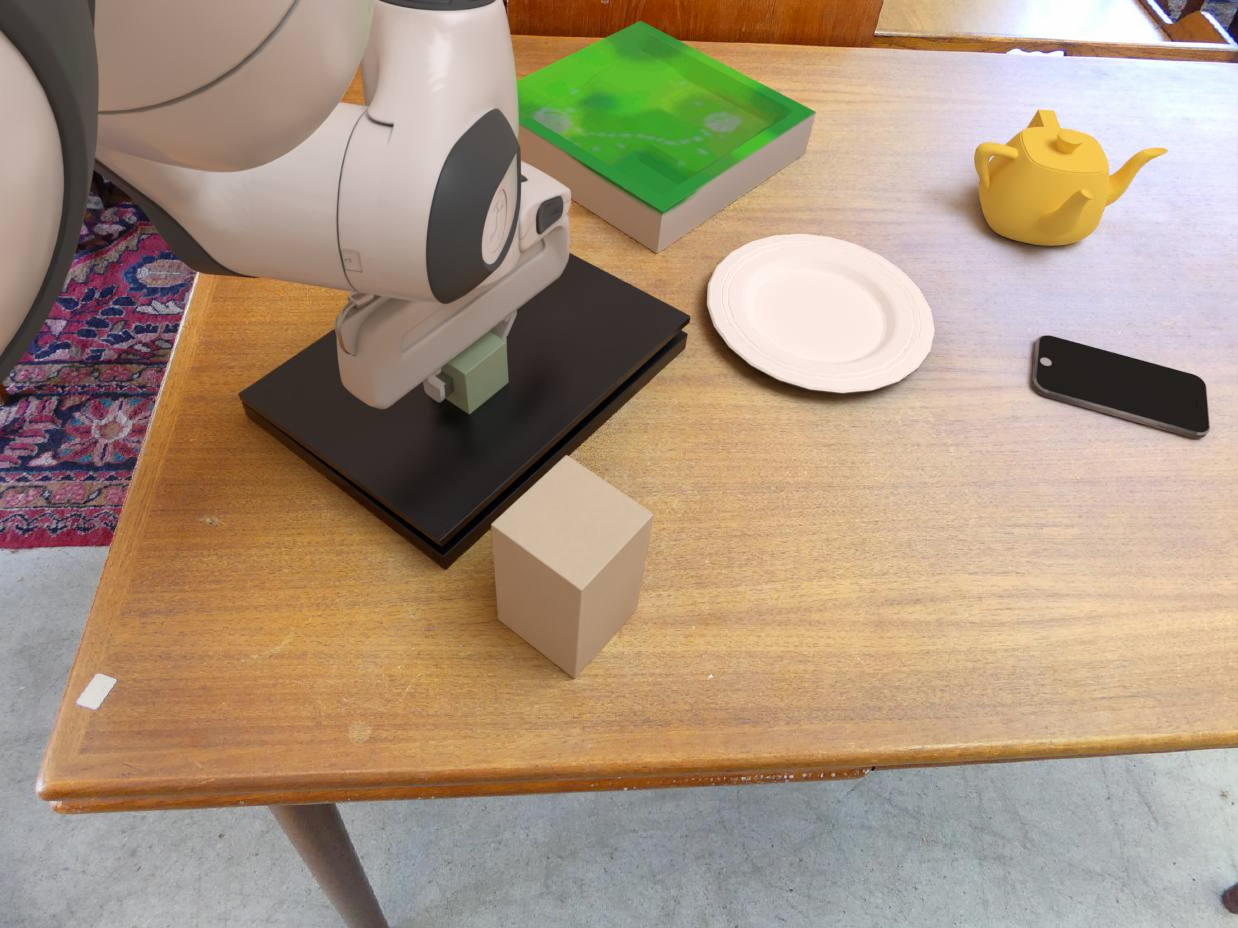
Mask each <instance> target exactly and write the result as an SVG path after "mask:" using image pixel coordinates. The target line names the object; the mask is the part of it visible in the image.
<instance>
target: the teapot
mask: <svg viewBox="0 0 1238 928" xmlns="http://www.w3.org/2000/svg"><path fill="white" fill-rule="evenodd" d="M1168 152H1169V150H1168V149H1167V148H1165V147H1149V148H1145V149H1142V150H1140V151H1138V152H1137V153H1134V154H1133V155H1132V156H1131V157H1130V158H1129V159H1128V160H1127V161H1126V162H1125V163H1124V164H1123V165H1122V166H1121V167H1120V168H1119V169H1118V170H1116V171H1115V172H1114V173H1112V174H1110V165H1109V160H1108V158H1107V156H1106V153H1105V152H1104V150H1103V148H1102V146H1101V144H1100V142H1099V141H1098V140H1097V139H1096V138H1095V137H1094V136H1092V135H1090V134H1088V133H1085V132H1082V131H1079V130H1076V129H1075V130H1074V129H1071V128H1063V127H1061V126H1060V123H1059V120H1058V118H1057V115H1056V112H1055V110H1051V109H1037V111H1036V112H1035V113H1034V115H1033V117H1032V119H1031V120H1030V122H1029V123H1028V125H1027V126H1026V128H1024V129H1022V130H1021V131H1019V132H1018V133H1017V134H1015V135H1014V136H1013V137H1012V138H1011V139H1009V140H1008V141H1007V142H1006V143H1005V144H1002V143H999V142H992V141H987V142H983V143H980V144H978V146H976V148H975V151H974V155H973V163H974V167H975V171H976V174H977V177H978V179H979V180H978V195H979V202H980V207H981V210H982V213H983V217H984V218H985V221H986V223H987V225H988V226H989V228H990V229H991V230H993V231H994V233H996V234H998V235H999V236H1002V237H1003V238H1007V239H1010V240H1013V241H1017V242H1020V243H1024V244H1030V245H1034V246H1035V245H1036V246H1051V247H1052V246H1053V247H1055V246H1067V245H1072V244H1075V243H1077V242H1080V241H1082V240H1084V239H1086V238H1087V237H1089V236H1090V235H1092V234H1093V233H1094V232H1095V231H1096V229H1097V227H1098V226H1099V224H1100V222H1101V220H1102V217H1103V214H1104V212H1105V208H1106V207H1109V206H1110V205H1112V204H1114V203H1115V202H1116V201H1117V200H1119V199H1120V198H1121V197H1122V196H1123V194H1124V193H1125V192H1126V191H1127V190H1128V188H1129V187H1130V185H1131V183H1132V182H1133V180H1134V179H1135V177H1136V175H1137V174H1138V173H1139V171H1141V169H1142V168H1143V167H1144V166H1145V165H1146V164H1147V163H1149V162H1150V161H1152V160H1153V159H1156V158H1158V157H1161V156H1163V155H1165V154H1167V153H1168Z"/></svg>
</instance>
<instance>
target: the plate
mask: <svg viewBox="0 0 1238 928" xmlns="http://www.w3.org/2000/svg"><path fill="white" fill-rule="evenodd" d="M706 291H707V294H706V308H707V312H708V315H709V317H710V321H711V324H712V327H713V328H714V330H715V331H716V333H717V334H718V336H719V337H720V338H721V339H722V341H723V342H724V344H725V345H726V346H727V348H728V350H731V351H732V352H733V353H734V354H735V355H736V356H738V357H739V358H740V359H741V360H742V361H743V362H744V363H746V364H747V365H749V366H750V367H751V368H753V369H755V370H756V371H759V372H761V373H763V374H764V375H766V376H768V377H770V378H772V379H774V380H776V381H777V382H780V383H784V384H787V385H790V386H793V387H797V388H800V389H803V390H806V391H809V392H819V393H828V394H837V395H846V394H859V393H868V392H875V391H877V390H881V389H884V388H886V387H889V386H892V385H895V384H898V383H900V382H901V381H903V380H904V379H906V378H907V377H908V376H910V375H911V374H912V373H914V372H916V371H917V370H918V369H919V368H920V366H921V365H922V363H923V362H924V361H925V359H926V358H927V356H928V355H929V353H930V352H931V351H932V345H933V340H934V336H935V332H936V330H935V329H936V328H935V325H934V318H933V313H932V309H931V307H930V305H929V303H928V302H927V299H926V298H925V296H924V294H923V292H922V290H921V289H920V288H919V287H918V286H917V285H916V283H915V282H913V280H912V279H911V278H910V277H909V276H908V275H907V274H906V273H905V272H904V271H903V270H902V269H900V268H899V267H898V266H896V265H895V264H893V263H892V262H890V260H887V259H886V258H885V257H883V256H882V255H881V254H878V253H876V252H874V251H871V250H869V249H867V248H865V247H863V246H861V245H859V244H857V243H854V242H850V241H846V240H843V239H839V238H835V237H831V236H826V235H819V234H818V235H817V234H809V233H791V234H790V233H789V234H775V235H771V236H768V237H767V236H766V237H763V238H760V239H756V240H752V241H748V243H745V244H744V245H742V246H740V247H738V248H736V249H734V250H732V251H731V252H729V253H728V254H727V255H726V257H724V258H723V259H722V260H721V261H720V262H719V263H718V264H717V265H716V266H715V268H714V270H713V272H712V275H711V277H710V279H709V281H708V283H707V290H706Z"/></svg>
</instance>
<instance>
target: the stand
mask: <svg viewBox="0 0 1238 928" xmlns="http://www.w3.org/2000/svg"><path fill="white" fill-rule="evenodd" d="M654 516H655V514H654V513H653V512H652V511H651V510H649V509H647V508H646V507H644V506H643V505H642V504H640V503H639V502H637V501H635V500H634V499H633V498H631V497H629V496H628V495H627V494H625V493H623V492H622V491H621V490H619V489H618V488H616V486H613V485H612V484H610V483H609V482H607V480H605V479H604V478H601V477H600V476H599V475H597V474H596V473H594V472H593V471H591V470H590V469H588V468H587V467H585V466H584V465H583V464H581V463H579V462H578V461H577V460H575V459H573V458H572V457H570V455H569V456H567V455H566V456H565V457H563V458H562V459H561V460H560V461H559V462H558V463H557V464H556V465H555V466H554V467H553V468H552V469H550V470H549V471H548V472H547V473H546V474H545V475H544V476H543V477H542V478H541V479H540V480H538V481H537V482H536V483H535V484H534V485H533V486H532V487H531V488H530V489H529V490H528V491H527V492H525V493H524V494H523V495H522V496H521V497H520V498H519V499H518V500H517V501H516V502H515V503H514V504H512V505H511V506H510V507H509V508H508V509H507V510H506V511H505V512H504V513H503V514H502V515H501V516H499V517H498V518H497V519H496V520H495V521H494V522H493V523H492V524H491V528H490V530H491V541H492V555H493V569H494V583H495V594H496V595H495V596H496V607H497V608H496V610H497V620H498V621H500V623H502V624H503V625H504V626H506V627H507V628H508V629H509V630H511V631H513V633H514V634H516V635H518V636H519V637H520V638H521V639H523V640H524V641H525V642H526V643H528V644H529V645H530V646H531V647H533V648H534V649H535V650H536V651H538V652H539V653H541V654H542V655H543V656H545V657H546V658H547V659H548V660H550V661H551V663H553V664H555V665H556V666H557V667H559V668H560V669H561V670H562V671H564V672H565V673H566V674H568V675H569V676H570V677H572V678H573V679H577V678H578V677H579V675H580V674H581V673H582V672H583V671H584V670H585V669H586V667H587V666H588V665H589V664H590V663H591V662H592V661H593V659H595V657H596V656H598V654H599V652H601V650H602V649H603V648H604V647H605V646H606V645H607V644H608V643H609V641H610V640H612V638H613V637H614V636H615V635H616V634H617V633H618V632H619V630H621V628H622V627H623V626H624V625H625V623H627V621H628V620H629V619H630V618H631V617H632V616H633V614H634V613H635V612H636V611H637V610H638V607H639V600H640V595H641V591H642V583H643V577H644V574H645V569H646V561H647V556H648V550H649V545H650V538H651V533H652V528H653V522H654Z"/></svg>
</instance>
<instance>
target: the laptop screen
mask: <svg viewBox="0 0 1238 928" xmlns="http://www.w3.org/2000/svg"><path fill="white" fill-rule="evenodd" d="M690 322H691V315H690V314H688V313H686V312H684V311H682V310H680V309H679V308H676V307H675V306H673V305H670V304H669V303H667V302H665V301H663V300H661V299H659V298H657V297H655V296H654V295H652V294H649V292H648V293H647V292H646V291H644V290H642V289H640V288H638V287H636V286H634V285H633V284H631V283H628V282H627V281H625V280H623V279H621V278H619V277H617V276H615V275H613V274H611V273H610V272H608V271H606V270H604V269H602V268H600V267H598V266H596V265H594V264H592V263H590V262H589V261H587V260H585V259H583V258H581V257H579V256H577V255H575V254H573V253H571V252H569V259H568V262H567V265H566V267H565V269H564V271H563V273H562V274H561V276H560V277H559V278H558V279H557V280H555V281H554V282H552V283H551V284H550V285H548V286H547V287H546V288H544V289H543V290H542V291H541V292H539V293H538V294H537V295H535V296H534V297H533V298H531V299H530V300H529V301H527V302H526V303H525V304H524V305H522V306H521V307H520V308H518V309H517V315H516V317H515V320H514V322H513V324H512V327H511V329H510V331H509V334H508V336H506V339H507V363H508V380H509V382H508V383H507V384H506V385H505V386H504V387H503V388H501V389H500V390H499V391H498V392H496V393H495V394H494V395H493V396H491V397H490V398H489V399H488V400H487V401H485V402H484V403H483V404H482V405H480V406H479V407H478V408H477V409H476V410H474V411H473V412H472V413H471V414H468V413H466V412H465V411H463V410H462V409H460V408H459V407H457V406H456V405H454V404H453V403H451V402H450V401H448V400H447V399H444V400H443V401H442V402H440V403H439V402H437V401H435V400H434V399H433V398H431V397H430V396H428V395H427V393H426V392H425V390H424V385H423V382H421V383H420V384H419V385H417V386H416V387H415V388H414V389H412V390H411V391H410V392H408V393H407V394H406V395H404V396H403V397H402V398H400V399H399V400H398V401H397V402H395V403H394V404H393V405H391V406H390V407H388V408H387V409H378V408H375V407H371V406H369V405H367V404H366V403H364V402H362V401H361V400H359V399H358V398H357V397H355V396H354V395H353V394H352V393H350V392H349V391H348V390H347V389H346V388H345V387H344V385H343V383H342V381H341V377H340V371H339V363H338V353H337V336H336V331H335V328H333V329H332V330H330V331H328V332H327V333H325V334H324V335H323V336H321V337H319V339H317V340H316V341H314V342H312V343H311V344H309V345H308V346H306V347H305V348H304V349H302V350H301V351H299V352H298V353H296V354H295V355H293V356H292V357H289V358H288V359H287V360H286V361H284V362H283V363H281V364H280V365H278V366H277V367H275V368H274V369H272V370H271V371H270V372H268V373H267V374H265V375H264V376H262V377H261V378H259V379H258V380H256V381H255V382H253V383H252V384H250V385H248V387H246V388H244V389H243V390H242V391H240V392H238V393H237V395H238V397H239V400H240V402H241V403H242V402H243V403H245V404H246V405H247V406H249V407H250V408H252V409H253V410H254V411H256V412H257V413H258V414H260V415H261V416H263V417H264V418H265V419H267V420H268V421H269V422H271V423H272V424H274V425H275V426H276V427H278V428H279V429H280V430H282V431H283V432H285V433H286V434H287V435H289V436H290V437H291V438H293V439H294V440H295V441H297V442H298V443H300V444H301V445H302V446H304V447H305V448H306V449H308V450H309V451H311V452H312V453H313V454H315V455H316V456H317V457H319V458H320V459H322V460H323V461H324V462H326V463H327V464H328V465H330V466H331V467H333V468H334V469H335V470H337V471H338V472H339V473H341V474H342V475H344V476H345V477H346V478H348V479H349V480H350V481H352V482H353V483H355V484H356V485H357V486H359V487H360V488H361V489H363V490H364V491H366V492H367V493H368V494H370V495H371V496H372V497H374V498H375V499H376V500H378V501H379V502H381V503H382V504H383V505H385V506H386V507H387V508H389V509H390V510H392V511H393V512H394V513H396V514H397V515H398V516H400V517H401V518H403V519H404V520H405V521H407V522H408V523H409V524H411V525H412V526H414V527H415V528H416V529H418V530H419V531H420V532H422V533H423V534H425V535H426V536H427V537H429V538H430V539H431V540H433V541H434V542H436V543H437V544H438V545H440V546H441V547H442V546H443V545H444V544H445V543H447V542H448V541H449V540H450V539H451V538H452V537H453V536H454V535H455V534H457V533H458V532H459V531H460V530H461V529H462V528H463V527H464V526H465V525H466V524H468V523H469V522H470V521H471V520H472V519H473V518H474V517H475V516H476V515H478V514H479V513H480V512H481V511H482V510H483V509H484V508H485V507H486V506H487V505H489V504H490V503H491V502H492V501H493V500H494V499H495V498H496V497H497V496H499V495H500V494H501V493H502V492H503V491H504V490H505V489H506V488H507V487H508V486H510V485H511V484H512V483H513V482H514V481H515V480H516V479H517V478H518V477H520V476H521V475H522V474H523V473H524V472H525V471H526V470H527V469H528V468H529V467H531V466H532V465H533V464H534V463H535V462H536V461H537V460H538V459H539V458H541V457H542V456H543V455H544V454H545V453H546V452H547V451H548V450H549V449H550V448H552V447H553V446H554V445H555V444H556V443H557V442H558V441H559V440H560V439H562V438H563V437H564V436H565V435H566V434H567V433H568V432H569V431H570V430H571V429H573V428H574V427H575V426H576V425H577V424H578V423H579V422H580V421H581V420H583V419H584V418H585V417H586V416H587V415H588V414H589V413H590V412H591V411H592V410H594V409H595V408H596V407H597V406H598V405H599V404H600V403H601V402H602V401H604V400H605V399H606V398H607V397H608V396H609V395H610V394H611V393H612V392H613V391H615V390H616V389H617V388H618V387H619V386H620V385H621V384H622V383H623V382H625V381H626V380H627V379H628V378H629V377H630V376H631V375H632V374H633V373H634V372H636V371H637V370H638V369H639V368H640V367H641V366H642V365H643V364H644V363H646V362H647V361H648V360H649V359H650V358H651V357H652V356H653V355H654V354H655V353H657V352H658V351H659V350H660V349H661V348H662V347H663V346H664V345H665V344H667V343H668V342H669V341H670V340H671V339H672V338H673V337H674V336H675V335H676V334H678V333H679V332H680V331H681V330H682V331H683V329H684V328H685V327H686V326H688V325H689V324H690Z"/></svg>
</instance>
